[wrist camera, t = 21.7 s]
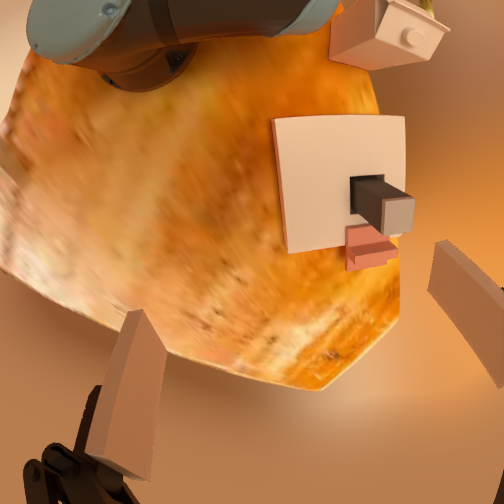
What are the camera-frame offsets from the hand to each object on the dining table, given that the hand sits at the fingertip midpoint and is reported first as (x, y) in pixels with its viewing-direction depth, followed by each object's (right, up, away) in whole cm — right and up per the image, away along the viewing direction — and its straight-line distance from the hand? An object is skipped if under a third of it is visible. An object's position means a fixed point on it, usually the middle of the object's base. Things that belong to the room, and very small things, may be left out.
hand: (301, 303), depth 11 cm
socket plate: (+12, +14, +30) cm, 35 cm away
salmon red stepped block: (+16, +3, +31) cm, 36 cm away
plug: (+15, +12, +31) cm, 36 cm away
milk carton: (+13, +33, +20) cm, 41 cm away
